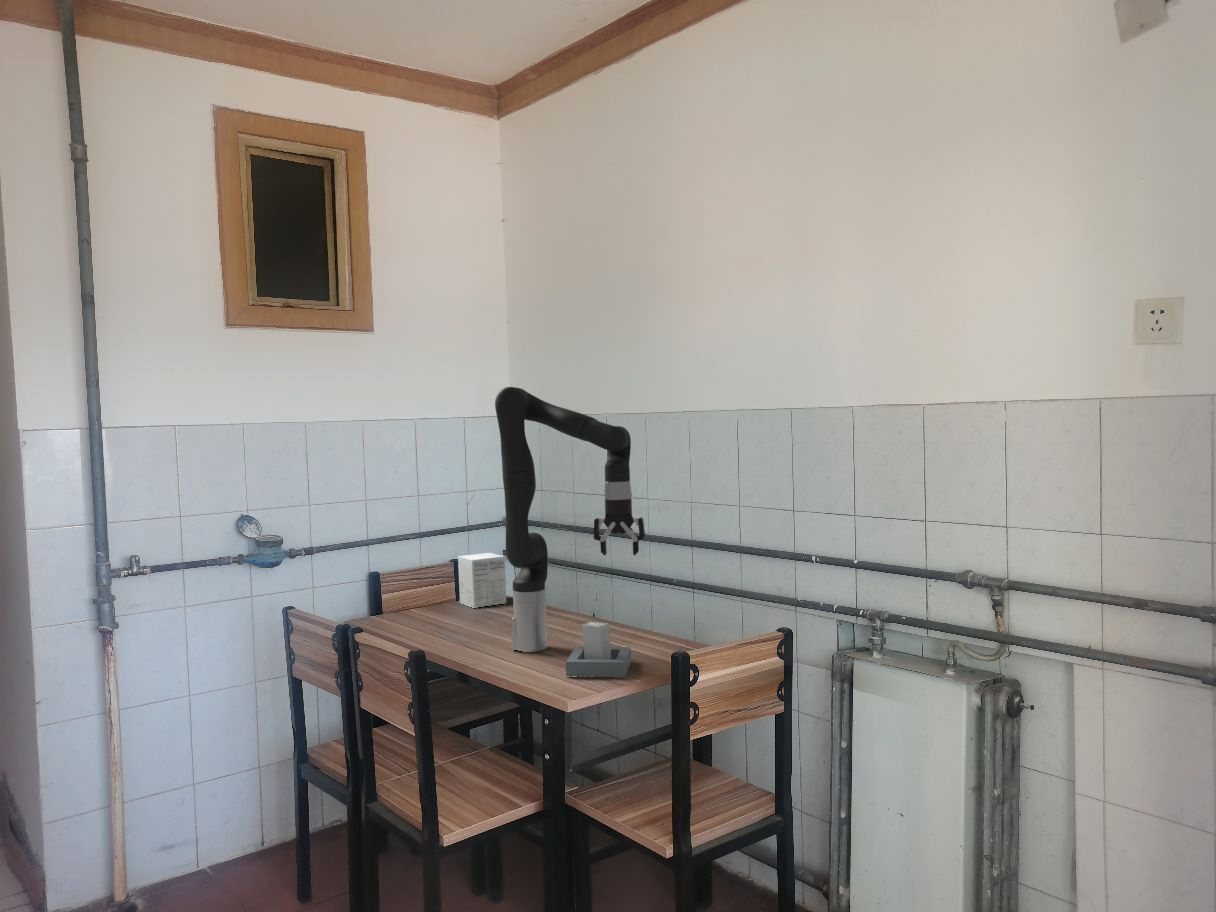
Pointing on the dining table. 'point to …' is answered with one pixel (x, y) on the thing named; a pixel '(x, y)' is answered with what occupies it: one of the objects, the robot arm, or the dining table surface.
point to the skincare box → (596, 640)
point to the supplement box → (482, 579)
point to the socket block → (599, 664)
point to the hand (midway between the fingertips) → (619, 554)
